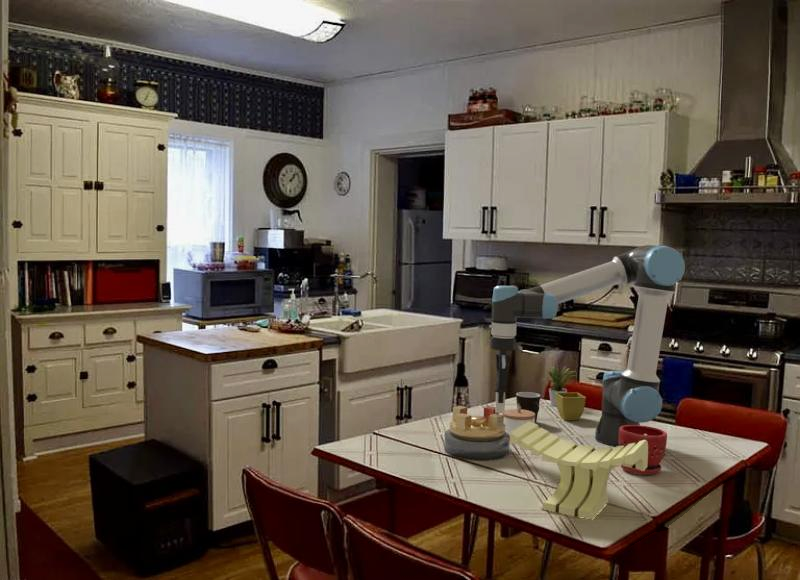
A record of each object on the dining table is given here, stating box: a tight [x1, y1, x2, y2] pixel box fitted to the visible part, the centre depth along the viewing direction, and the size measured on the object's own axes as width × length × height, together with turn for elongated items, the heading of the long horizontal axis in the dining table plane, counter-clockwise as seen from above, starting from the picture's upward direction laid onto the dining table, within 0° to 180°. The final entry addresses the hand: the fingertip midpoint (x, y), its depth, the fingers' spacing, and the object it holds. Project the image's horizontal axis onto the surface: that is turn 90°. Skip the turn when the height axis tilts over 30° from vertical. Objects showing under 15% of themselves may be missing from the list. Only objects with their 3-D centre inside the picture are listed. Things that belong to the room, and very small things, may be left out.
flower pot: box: [556, 392, 587, 421], centre depth 268 cm, size 9×9×9 cm
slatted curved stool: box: [510, 422, 648, 519], centre depth 182 cm, size 30×16×18 cm, turn 59°
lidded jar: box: [502, 408, 535, 436], centre depth 244 cm, size 11×11×9 cm
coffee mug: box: [515, 391, 541, 424], centre depth 260 cm, size 12×9×10 cm
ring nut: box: [449, 405, 506, 442], centre depth 225 cm, size 17×17×7 cm
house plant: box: [543, 364, 577, 407], centre depth 288 cm, size 14×14×16 cm
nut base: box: [443, 428, 510, 462], centre depth 226 cm, size 20×20×5 cm
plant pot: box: [618, 424, 668, 476], centre depth 210 cm, size 13×13×12 cm
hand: (499, 412), depth 225 cm, fingers closed
